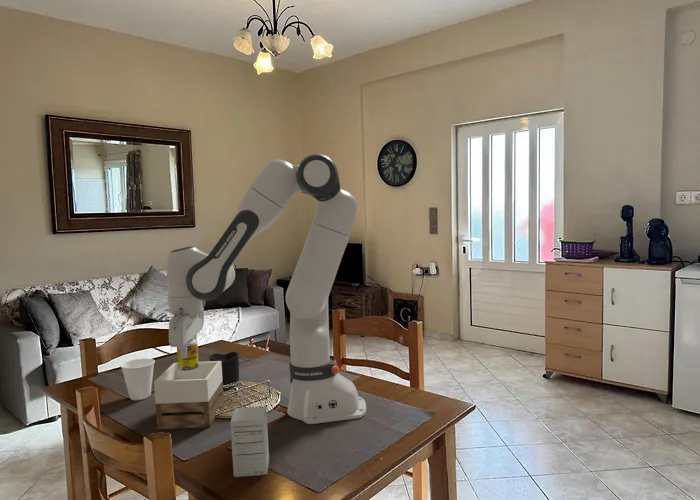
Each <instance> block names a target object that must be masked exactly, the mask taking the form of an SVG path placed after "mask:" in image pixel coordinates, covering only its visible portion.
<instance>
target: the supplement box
mask: <svg viewBox="0 0 700 500" xmlns="http://www.w3.org/2000/svg"><path fill="white" fill-rule="evenodd" d="M267 414H268V412H267V406H265V405H264V406H248V407H247V406H246V407H237V408H234V410H233V413H232V416H231V419H230V433H231V434H230V437H231V439H230V440H231V454H232V455H231V457H232V469H233V477H234V478H241V477H253V476H255V477H256V476H264V475H265V476H267V474H268V471H269V464H270V451H269V447H270V446H269V433H268V432H269V431H268V415H267Z"/></svg>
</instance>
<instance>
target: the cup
mask: <svg viewBox="0 0 700 500" xmlns="http://www.w3.org/2000/svg"><path fill="white" fill-rule="evenodd" d="M155 363H156V361H155V359H152V358H146V357H145V358H143V357H142V358H135V359H132V360H127V361H125V362H123V363H121V365H120V368H121V371H122V374H123V378H124V380H125V381H124V382H125V385H126V389H127V393H128V397H129V399H130V400H132V401H142V400H146V399H149V397H151V395H152V385H153V378H154V377H153V376H154V368H155V367H154V366H155Z"/></svg>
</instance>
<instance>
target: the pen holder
mask: <svg viewBox="0 0 700 500" xmlns="http://www.w3.org/2000/svg"><path fill="white" fill-rule="evenodd" d="M239 354H240V353H238V351H231V352H228V353H218V352H217V353H212V354H210V356H209V357H208V358H209V361H221V363H222V380H223V385H227V384H230V383H233V382H237V381H239V382H240V355H239Z"/></svg>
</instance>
